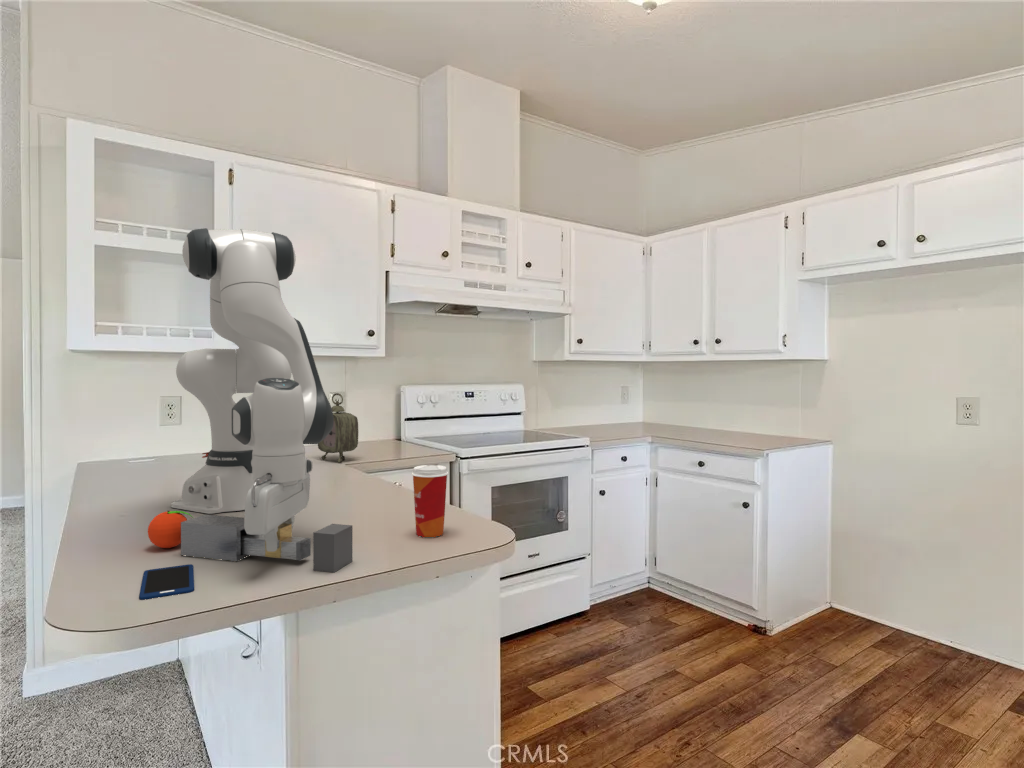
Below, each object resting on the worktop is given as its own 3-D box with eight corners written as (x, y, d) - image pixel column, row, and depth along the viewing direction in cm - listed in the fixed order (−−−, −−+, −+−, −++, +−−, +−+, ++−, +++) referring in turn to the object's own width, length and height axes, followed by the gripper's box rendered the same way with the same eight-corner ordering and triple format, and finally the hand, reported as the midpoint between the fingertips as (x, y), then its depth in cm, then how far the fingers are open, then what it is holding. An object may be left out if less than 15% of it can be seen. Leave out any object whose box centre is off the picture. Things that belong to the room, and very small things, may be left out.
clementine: (196, 539, 119) (195, 504, 118) (195, 549, 112) (195, 512, 112) (149, 544, 115) (149, 508, 115) (146, 555, 109) (145, 516, 109)
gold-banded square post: (208, 551, 108) (208, 522, 108) (222, 545, 111) (222, 518, 111) (299, 560, 103) (299, 530, 103) (311, 554, 107) (311, 525, 106)
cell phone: (138, 603, 88) (138, 597, 88) (143, 574, 100) (143, 569, 100) (194, 594, 91) (194, 589, 91) (193, 567, 103) (193, 563, 103)
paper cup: (415, 528, 128) (415, 464, 127) (450, 529, 127) (450, 464, 127) (407, 539, 120) (407, 470, 119) (445, 539, 120) (445, 471, 119)
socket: (313, 570, 101) (313, 532, 101) (332, 559, 107) (332, 523, 107) (334, 572, 100) (334, 534, 100) (352, 561, 106) (352, 525, 106)
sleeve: (181, 555, 108) (180, 522, 108) (205, 546, 114) (205, 514, 114) (236, 561, 105) (236, 527, 105) (259, 551, 111) (259, 519, 111)
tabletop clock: (316, 460, 220) (316, 392, 219) (338, 457, 227) (338, 392, 226) (338, 464, 211) (338, 394, 210) (360, 461, 217) (360, 393, 217)
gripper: (272, 480, 95) (272, 565, 96) (315, 460, 116) (315, 530, 116) (233, 480, 96) (233, 564, 96) (283, 459, 116) (284, 529, 116)
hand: (279, 545), depth 106 cm, fingers closed on gold-banded square post, 4 cm apart
